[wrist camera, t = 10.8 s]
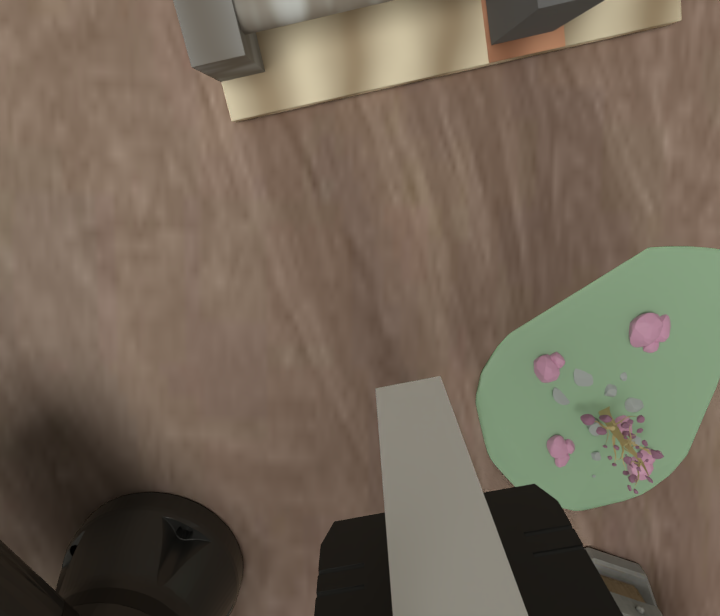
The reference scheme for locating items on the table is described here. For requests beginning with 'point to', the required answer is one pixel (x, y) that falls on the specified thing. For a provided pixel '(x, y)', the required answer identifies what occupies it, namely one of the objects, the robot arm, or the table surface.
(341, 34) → the grey sliding block rail
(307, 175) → the table surface
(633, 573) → the tankard
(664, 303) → the plant
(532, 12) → the collar
